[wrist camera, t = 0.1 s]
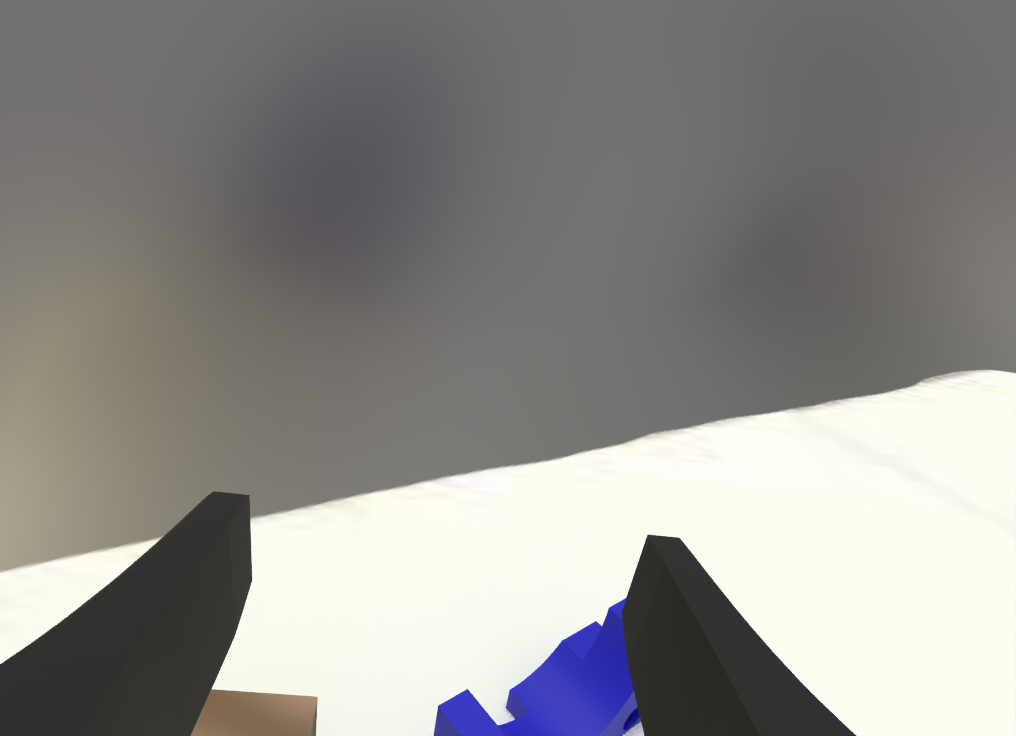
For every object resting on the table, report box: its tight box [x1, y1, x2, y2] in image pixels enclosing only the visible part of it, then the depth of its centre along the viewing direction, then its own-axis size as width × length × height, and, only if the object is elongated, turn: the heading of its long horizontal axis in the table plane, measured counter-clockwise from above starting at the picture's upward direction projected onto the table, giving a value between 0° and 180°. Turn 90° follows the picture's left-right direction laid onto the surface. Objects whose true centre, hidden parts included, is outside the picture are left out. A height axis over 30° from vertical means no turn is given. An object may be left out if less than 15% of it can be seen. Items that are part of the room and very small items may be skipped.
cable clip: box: [434, 598, 641, 736], centre depth 32 cm, size 12×4×6 cm, turn 130°
